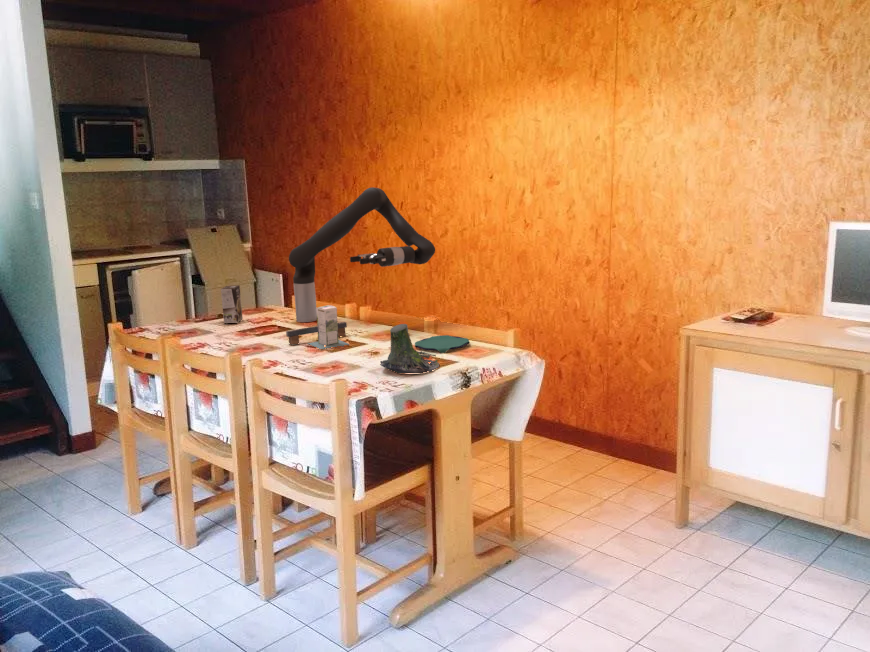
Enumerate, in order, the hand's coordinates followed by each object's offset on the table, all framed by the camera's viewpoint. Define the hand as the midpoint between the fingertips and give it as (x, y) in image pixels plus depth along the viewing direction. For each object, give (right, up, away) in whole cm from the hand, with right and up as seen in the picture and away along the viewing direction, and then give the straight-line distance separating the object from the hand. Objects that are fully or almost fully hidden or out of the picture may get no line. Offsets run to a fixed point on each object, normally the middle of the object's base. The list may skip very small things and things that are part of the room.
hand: (355, 260), depth 302 cm
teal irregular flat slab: (+31, -35, -23) cm, 52 cm away
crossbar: (-15, -28, -3) cm, 32 cm away
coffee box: (-59, -25, +39) cm, 75 cm away
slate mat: (-9, -33, -10) cm, 36 cm away
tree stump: (+24, -41, -48) cm, 67 cm away
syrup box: (-9, -33, -10) cm, 36 cm away
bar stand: (-15, -32, -2) cm, 35 cm away
